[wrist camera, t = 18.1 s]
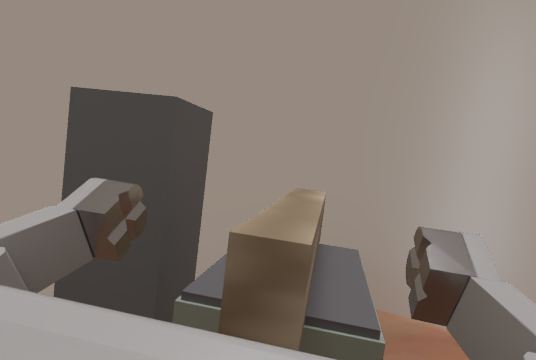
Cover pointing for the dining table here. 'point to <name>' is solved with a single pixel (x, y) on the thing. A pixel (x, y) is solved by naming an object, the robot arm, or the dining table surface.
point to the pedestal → (154, 190)
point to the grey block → (318, 310)
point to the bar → (272, 271)
